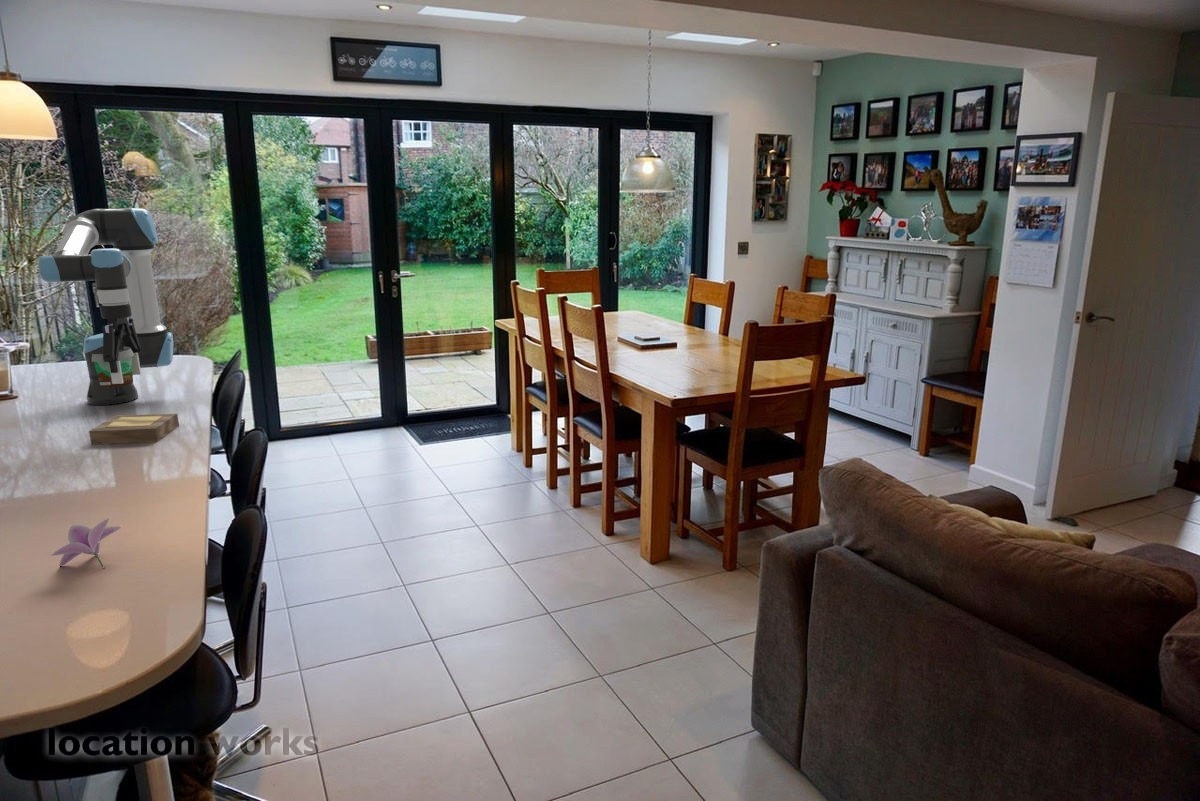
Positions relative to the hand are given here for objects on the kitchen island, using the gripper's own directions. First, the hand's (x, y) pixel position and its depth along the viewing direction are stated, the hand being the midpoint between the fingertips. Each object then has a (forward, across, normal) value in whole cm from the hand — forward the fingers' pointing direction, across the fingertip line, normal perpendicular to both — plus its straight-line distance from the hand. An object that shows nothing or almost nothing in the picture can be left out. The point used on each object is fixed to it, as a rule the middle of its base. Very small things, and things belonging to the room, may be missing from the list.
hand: (127, 378), depth 229 cm
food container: (+2, +1, -1) cm, 2 cm away
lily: (+18, +88, +28) cm, 94 cm away
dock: (+17, 0, 0) cm, 17 cm away
